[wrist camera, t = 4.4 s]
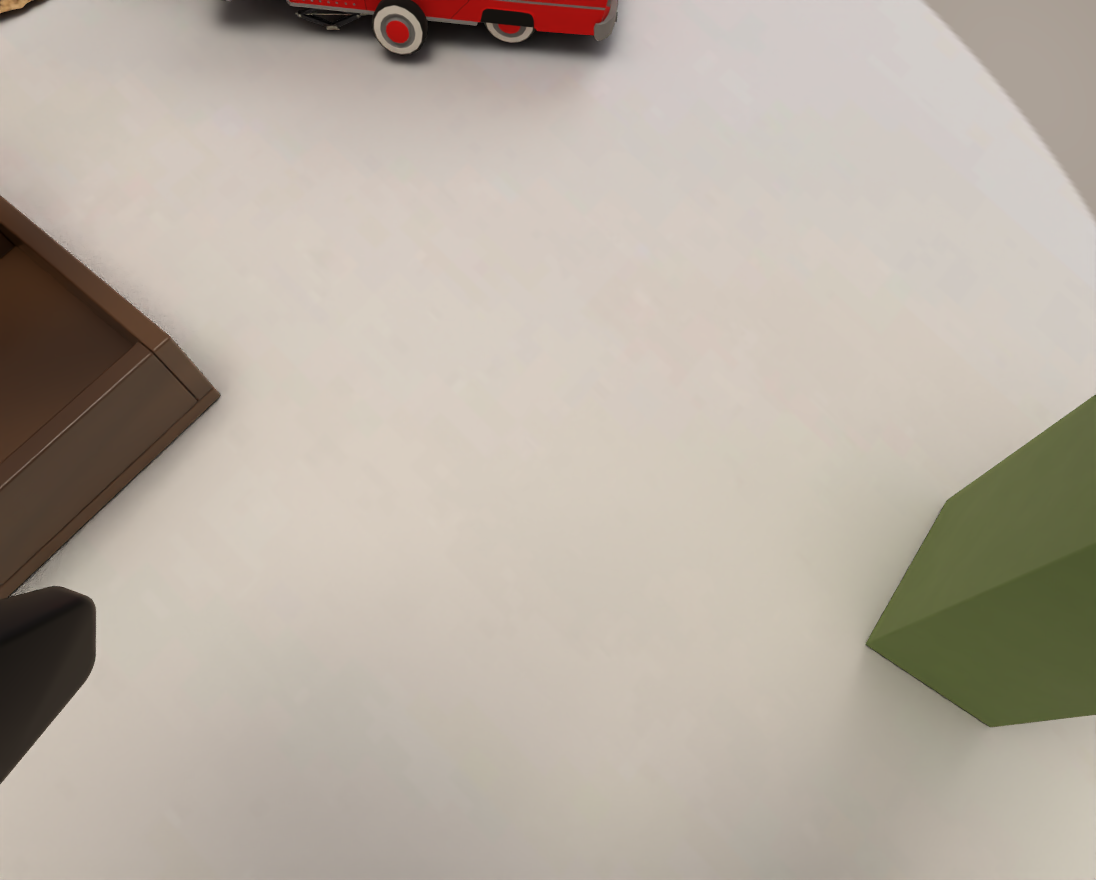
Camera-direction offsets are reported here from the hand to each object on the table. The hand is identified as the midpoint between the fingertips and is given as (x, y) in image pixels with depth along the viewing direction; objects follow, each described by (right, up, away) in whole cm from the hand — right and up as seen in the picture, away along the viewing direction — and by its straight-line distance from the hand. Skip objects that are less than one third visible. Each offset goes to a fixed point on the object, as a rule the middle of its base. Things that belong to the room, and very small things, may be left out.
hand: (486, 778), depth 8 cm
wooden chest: (-15, +4, +17) cm, 23 cm away
